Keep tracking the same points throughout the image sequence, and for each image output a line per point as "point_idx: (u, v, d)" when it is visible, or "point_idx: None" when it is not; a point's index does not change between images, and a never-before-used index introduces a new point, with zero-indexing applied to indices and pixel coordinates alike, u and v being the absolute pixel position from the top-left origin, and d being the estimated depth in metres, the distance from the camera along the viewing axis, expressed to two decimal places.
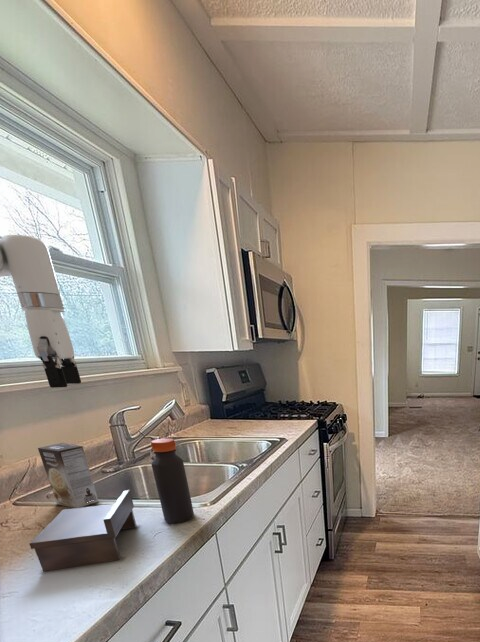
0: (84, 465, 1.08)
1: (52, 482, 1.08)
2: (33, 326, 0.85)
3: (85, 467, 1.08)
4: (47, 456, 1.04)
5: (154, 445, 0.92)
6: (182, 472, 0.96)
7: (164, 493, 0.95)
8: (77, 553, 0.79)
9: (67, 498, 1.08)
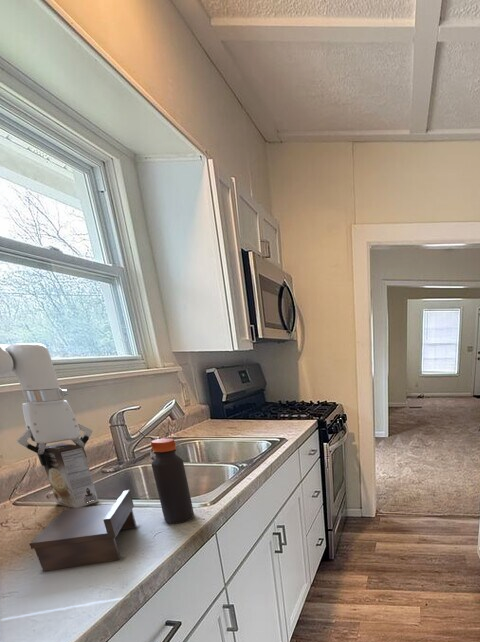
0: (84, 465, 1.08)
1: (52, 482, 1.08)
2: (24, 417, 1.00)
3: (85, 467, 1.08)
4: None
5: (154, 445, 0.92)
6: (182, 472, 0.96)
7: (164, 494, 0.95)
8: (77, 553, 0.79)
9: (67, 498, 1.08)
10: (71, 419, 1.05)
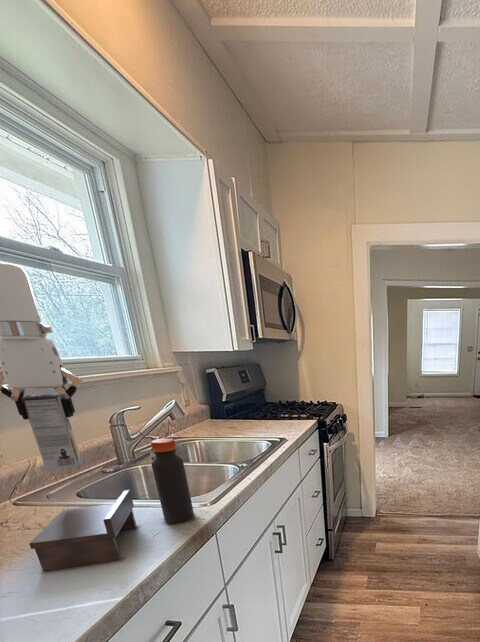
0: (59, 420, 0.88)
1: None
2: None
3: (60, 423, 0.89)
4: None
5: (154, 445, 0.92)
6: (182, 472, 0.96)
7: (164, 494, 0.95)
8: (77, 553, 0.79)
9: None
10: (48, 362, 0.86)
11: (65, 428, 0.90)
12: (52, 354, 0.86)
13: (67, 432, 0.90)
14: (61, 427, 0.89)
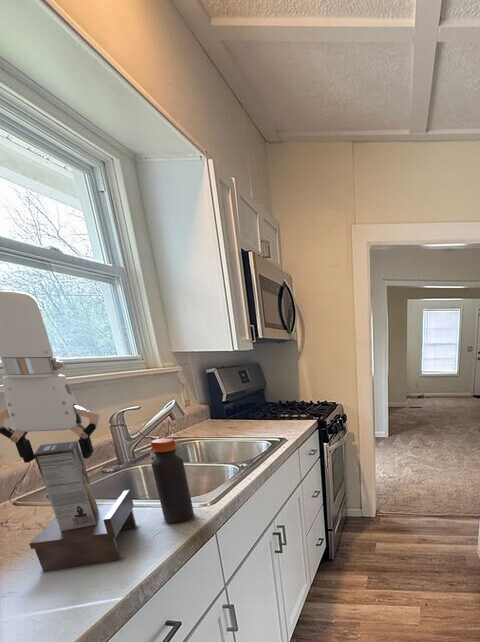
0: (75, 476, 0.78)
1: None
2: None
3: (76, 479, 0.79)
4: None
5: (154, 445, 0.92)
6: (182, 472, 0.96)
7: (164, 494, 0.95)
8: (77, 553, 0.79)
9: None
10: (60, 402, 0.75)
11: (82, 484, 0.80)
12: (65, 393, 0.75)
13: (84, 488, 0.80)
14: (77, 483, 0.79)
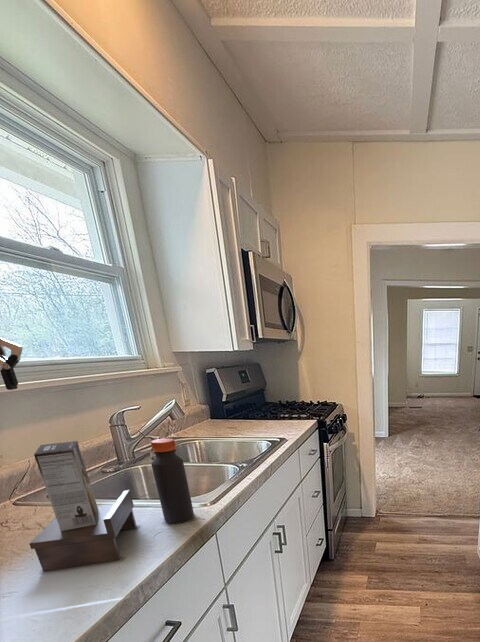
0: (75, 476, 0.78)
1: None
2: None
3: (76, 479, 0.79)
4: None
5: (154, 445, 0.92)
6: (182, 472, 0.96)
7: (164, 493, 0.95)
8: (77, 553, 0.79)
9: None
10: None
11: (82, 484, 0.80)
12: None
13: (84, 488, 0.80)
14: (77, 483, 0.79)
